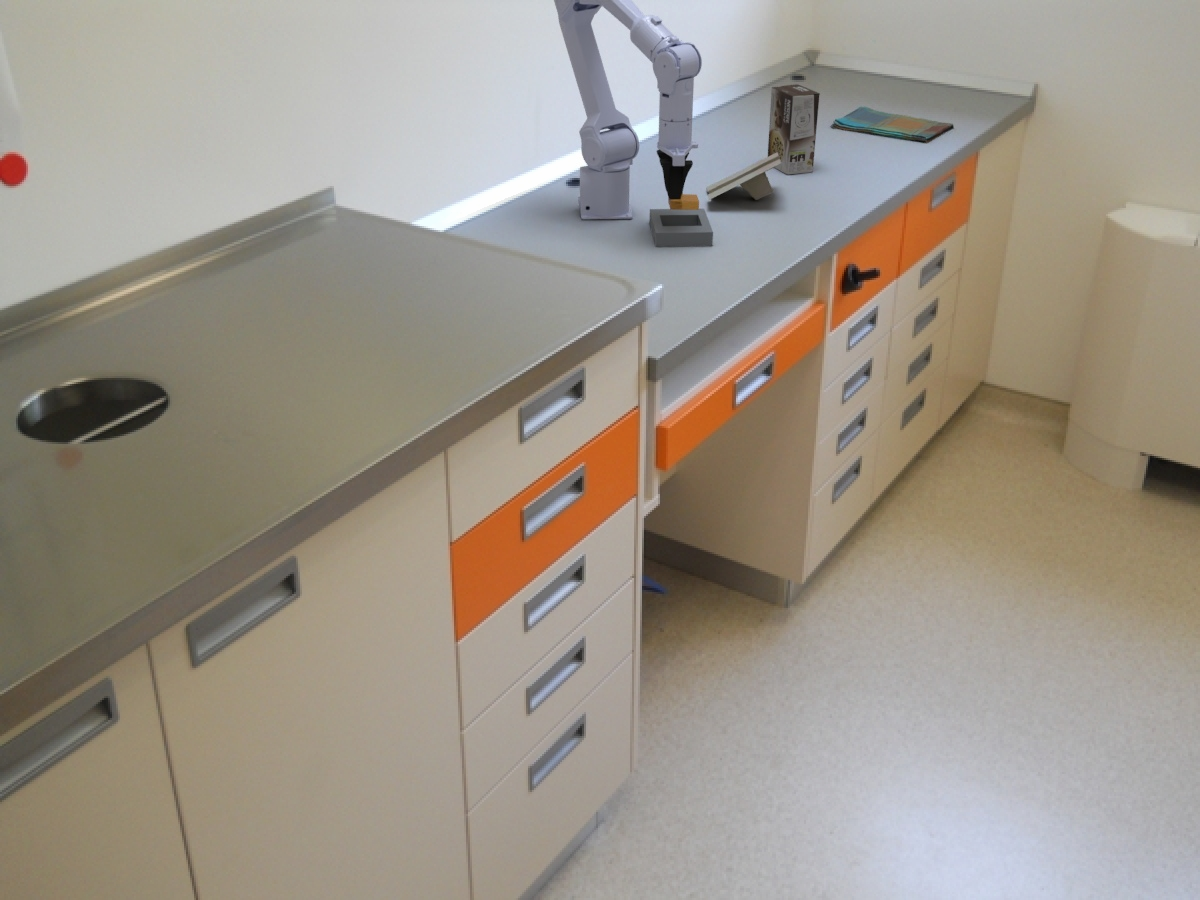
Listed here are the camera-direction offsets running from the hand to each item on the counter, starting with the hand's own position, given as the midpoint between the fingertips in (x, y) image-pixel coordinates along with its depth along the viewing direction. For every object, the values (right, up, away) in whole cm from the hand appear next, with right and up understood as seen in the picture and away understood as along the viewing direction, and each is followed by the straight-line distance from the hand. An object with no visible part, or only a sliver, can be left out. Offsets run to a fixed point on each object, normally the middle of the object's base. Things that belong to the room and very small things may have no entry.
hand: (673, 194), depth 225 cm
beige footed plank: (+14, +3, +22) cm, 26 cm away
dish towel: (+54, +28, +68) cm, 92 cm away
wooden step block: (+2, -2, +1) cm, 3 cm away
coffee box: (+27, +13, +40) cm, 50 cm away
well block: (+1, -6, +4) cm, 7 cm away
